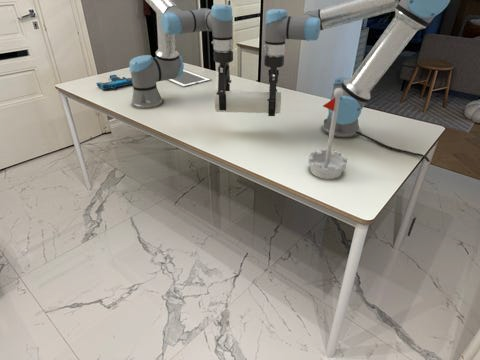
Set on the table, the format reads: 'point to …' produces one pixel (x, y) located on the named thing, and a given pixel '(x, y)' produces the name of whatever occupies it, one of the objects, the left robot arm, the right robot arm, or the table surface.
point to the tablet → (189, 79)
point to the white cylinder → (248, 102)
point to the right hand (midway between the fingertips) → (271, 111)
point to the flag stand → (329, 148)
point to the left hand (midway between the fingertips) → (224, 104)
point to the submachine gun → (115, 82)
